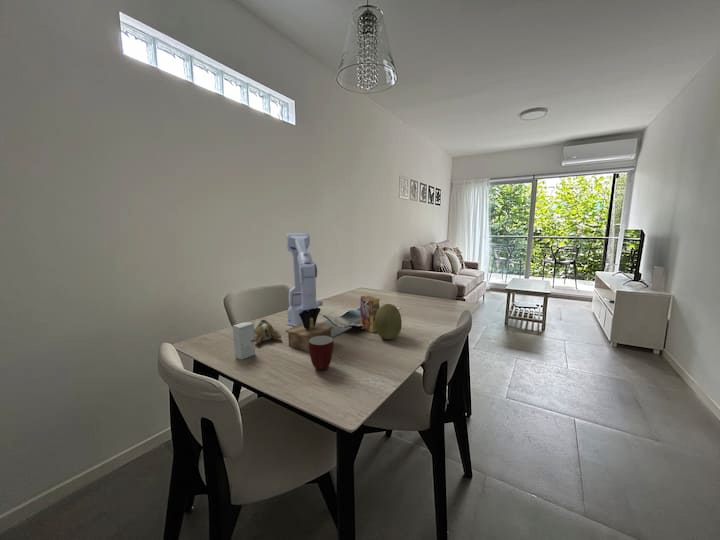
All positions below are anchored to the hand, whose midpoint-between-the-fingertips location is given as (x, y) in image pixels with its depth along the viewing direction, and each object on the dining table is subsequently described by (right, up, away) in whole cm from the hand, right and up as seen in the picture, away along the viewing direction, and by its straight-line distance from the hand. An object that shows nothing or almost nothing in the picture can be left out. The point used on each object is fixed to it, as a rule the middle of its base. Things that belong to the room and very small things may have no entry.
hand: (309, 327), depth 117 cm
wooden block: (0, -1, 0) cm, 1 cm away
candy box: (+25, -5, +17) cm, 30 cm away
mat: (+6, -4, +18) cm, 20 cm away
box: (0, -7, +1) cm, 7 cm away
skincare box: (-22, -9, -9) cm, 26 cm away
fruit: (+32, -6, +7) cm, 33 cm away
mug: (+8, -11, -20) cm, 24 cm away
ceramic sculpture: (-20, -7, +6) cm, 22 cm away
